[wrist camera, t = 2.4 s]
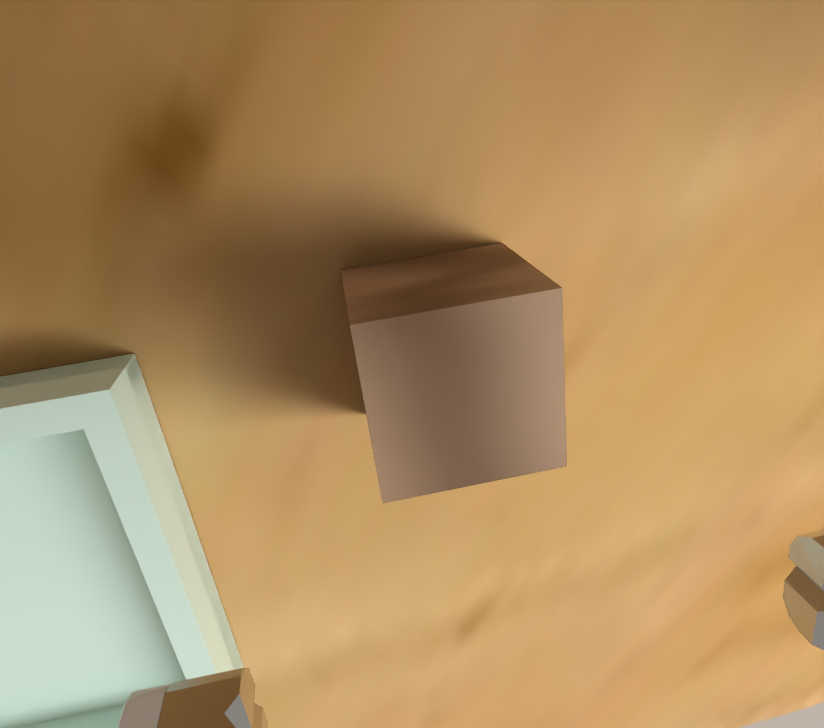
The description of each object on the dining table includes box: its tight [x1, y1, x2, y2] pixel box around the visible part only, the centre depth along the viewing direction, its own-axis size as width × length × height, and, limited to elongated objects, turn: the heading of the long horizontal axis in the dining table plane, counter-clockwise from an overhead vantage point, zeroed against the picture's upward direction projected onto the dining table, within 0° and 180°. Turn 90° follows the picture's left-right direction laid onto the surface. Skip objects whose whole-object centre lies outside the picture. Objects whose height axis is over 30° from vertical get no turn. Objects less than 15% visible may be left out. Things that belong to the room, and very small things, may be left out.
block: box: [340, 243, 567, 503], centre depth 17 cm, size 5×5×5 cm
